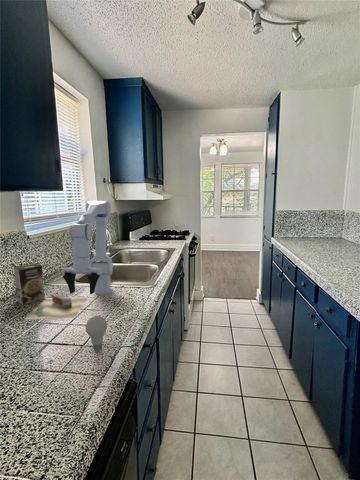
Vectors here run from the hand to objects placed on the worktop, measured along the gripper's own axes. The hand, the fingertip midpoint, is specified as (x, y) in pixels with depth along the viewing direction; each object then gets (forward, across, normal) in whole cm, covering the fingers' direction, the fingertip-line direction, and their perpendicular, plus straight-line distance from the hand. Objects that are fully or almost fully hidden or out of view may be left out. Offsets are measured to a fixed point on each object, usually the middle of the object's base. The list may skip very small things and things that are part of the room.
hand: (82, 293), depth 93 cm
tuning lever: (+8, -15, +11) cm, 20 cm away
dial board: (+10, -14, +9) cm, 19 cm away
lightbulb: (+13, +13, -16) cm, 25 cm away
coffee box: (+9, -31, +14) cm, 35 cm away
